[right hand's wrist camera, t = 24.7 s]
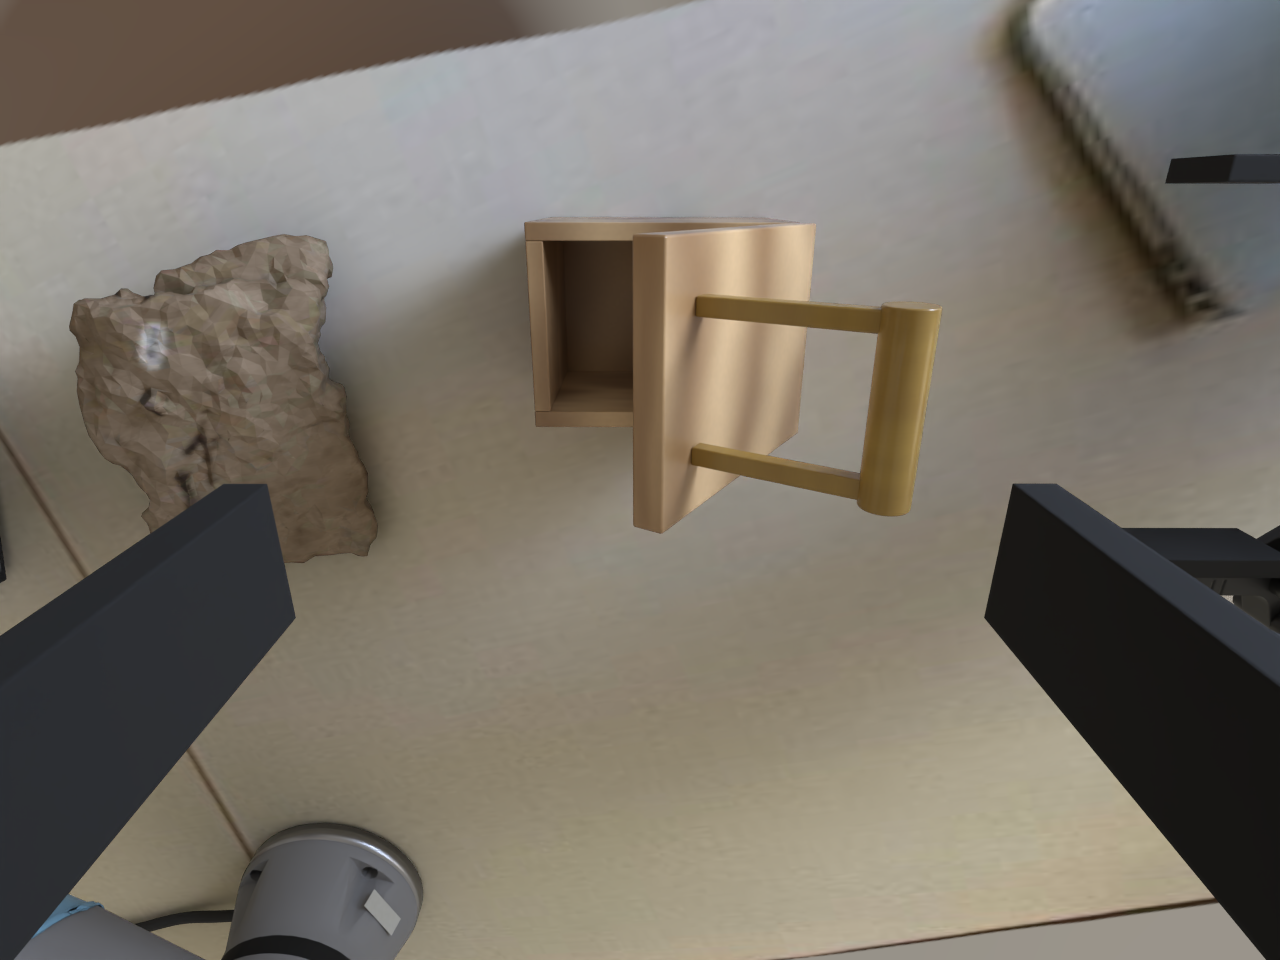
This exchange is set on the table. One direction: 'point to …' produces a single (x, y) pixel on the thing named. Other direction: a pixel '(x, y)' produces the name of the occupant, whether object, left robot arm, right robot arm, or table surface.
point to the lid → (758, 372)
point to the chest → (589, 313)
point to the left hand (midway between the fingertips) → (1138, 380)
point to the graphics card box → (2, 565)
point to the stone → (228, 392)
